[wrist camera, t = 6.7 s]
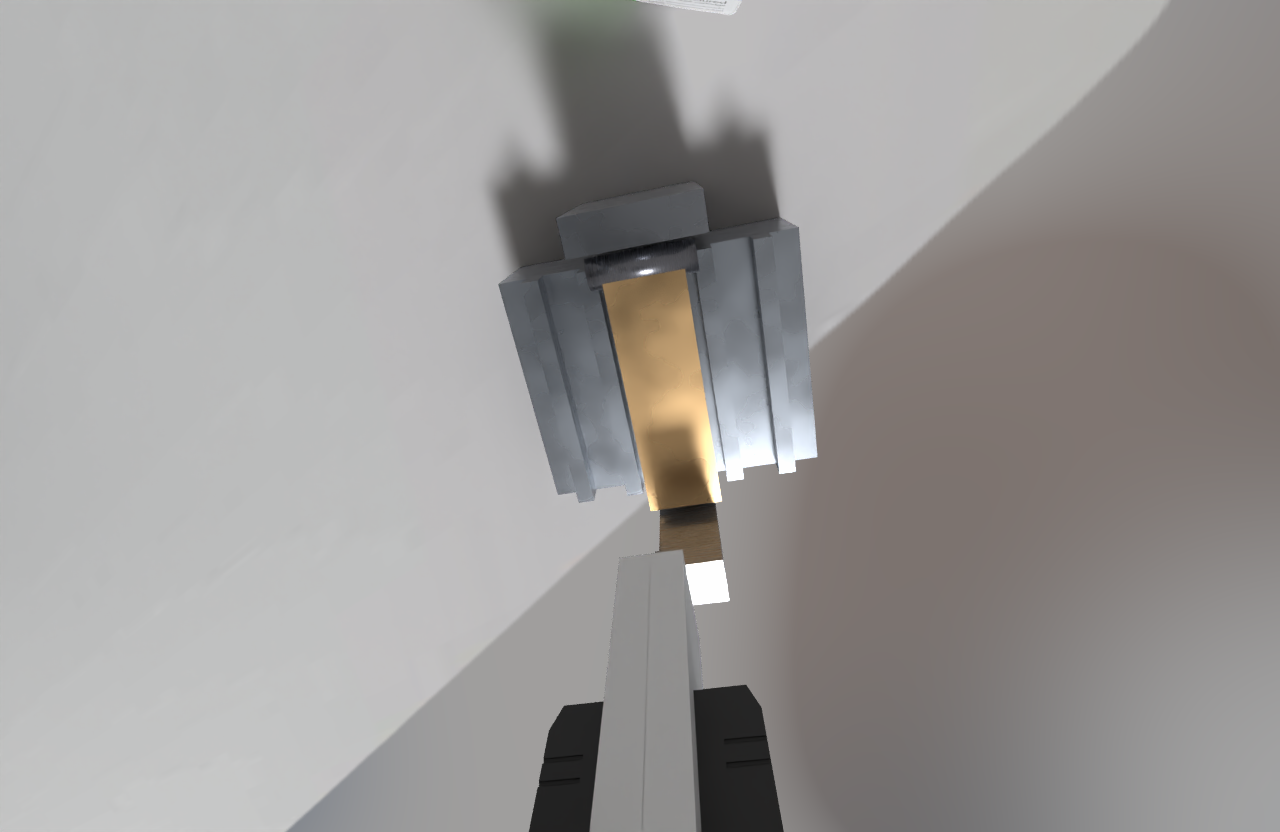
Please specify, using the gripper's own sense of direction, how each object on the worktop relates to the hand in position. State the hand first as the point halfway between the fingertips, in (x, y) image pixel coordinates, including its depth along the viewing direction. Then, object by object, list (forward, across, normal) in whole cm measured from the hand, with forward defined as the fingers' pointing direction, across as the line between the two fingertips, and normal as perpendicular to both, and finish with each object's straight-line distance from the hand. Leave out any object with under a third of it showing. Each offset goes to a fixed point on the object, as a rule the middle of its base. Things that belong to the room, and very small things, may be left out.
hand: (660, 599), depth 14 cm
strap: (+11, 0, +1) cm, 11 cm away
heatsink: (+17, 0, +1) cm, 17 cm away
